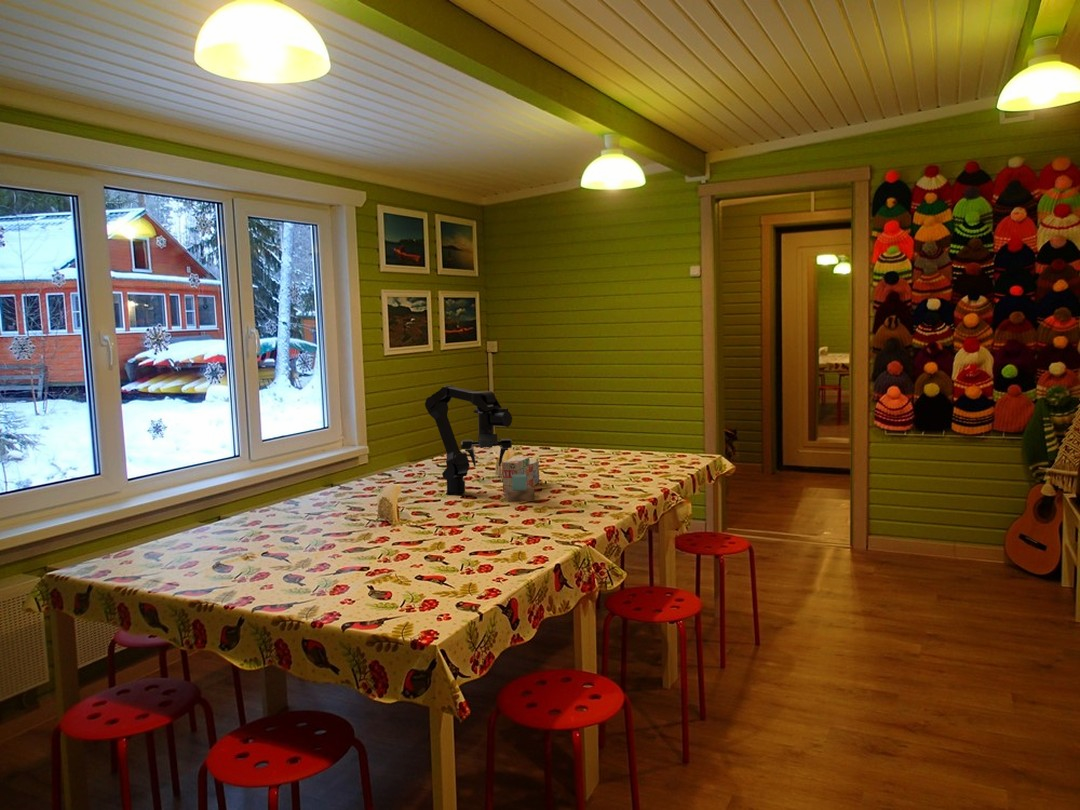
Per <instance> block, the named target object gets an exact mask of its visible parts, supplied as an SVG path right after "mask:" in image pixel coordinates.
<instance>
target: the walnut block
mask: <svg viewBox="0 0 1080 810" xmlns="http://www.w3.org/2000/svg"><path fill="white" fill-rule="evenodd" d="M526 487H527V488H526V490H520V491H513V486H510V487H505V493H504V497H505V499H506V501H507V503H514V502H530V501H531V502H532V501H534V502H535V500H536V498H535V497H536V496H535V495H536V494H535V489H534V488H533V486H531V485H529V486H526Z"/></svg>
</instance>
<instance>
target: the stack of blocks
mask: <svg viewBox="0 0 1080 810" xmlns="http://www.w3.org/2000/svg"><path fill="white" fill-rule="evenodd" d="M501 464H502V465H501V467H502V474H501V475H502V493H504V494H505V487H510V486H513V485H512V477H513V475H525V474H526V486H529V485H531V486H532V487H533V486H535V485H537V484H539V483H540V467H539V465H540V464H539V460H535V459H534V460H533V459H532V460H531V459H530V456H514V457H511V458H509V459H506V460H504V461H501Z"/></svg>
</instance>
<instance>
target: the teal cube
mask: <svg viewBox="0 0 1080 810" xmlns="http://www.w3.org/2000/svg"><path fill="white" fill-rule="evenodd" d="M512 485H513V491H520V490H526V488H527V487H526V474H525V475H513V477H512Z"/></svg>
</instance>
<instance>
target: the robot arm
mask: <svg viewBox="0 0 1080 810" xmlns="http://www.w3.org/2000/svg"><path fill="white" fill-rule="evenodd" d="M452 398H453V399H457V400H461V401H466V402H469V403H471V404H472V405H473V406H474V407H476V408H475V410H473V411H472V412H473V413H474V414H477V417H478V418H477V419H478V420H477V421H478V422H477V423H478V424H477V425H478V435H477V439H478V441H473V439H463V440H461V442H460V445H461V446H460V447H461V450H464V451H465V452H462V451H461V450H460V449H459V448H460V447H459V445H458V442H457V440H456V438H455V435H454V432H453V429H452V425H451V423H450V419H449V416H448V414H449V413H448V411H449V403H450V402H451V400H452ZM424 407H425V408H426V410H427V413H428V414H429V416H430V417H431V418H433V419H434V422H435V424H436V426H437V429H438V433H439V436H440V438H441V440H442V443H443V446H444V449H445V452H446V459H445V462H446V463H445V464H446V468H445V469H444V470H443V471H442V472H441V475H442V476H441V477H442V479H443V480H446V495H451V496H452V495H453V496H454V495H464V493H465V492H466V480H465V479H464V477H467V476H468V473H469V469H470V462H472V464H473V467H474V468H476V466H477V465H476V457H475V456H476V455H475V449H474V448H475V447H479V448H480V449H483V448H488V449H492V448H493V447H500V450H499V458H498V459H499V460H498V467H501V466H502V465H501V464H502V462H503V458H504V455H505V452H506V451H508V450H509V449H511V448H513V444H512V443H513V441H512V439H511V438H501V439H500V440H499V437H498V434H497V433H495V427H502V428H509V427H511V424H512V423H513V416H512V413H511V412H510V411H509V408H508V407H505V408H502V406H501V404H500V402H499V401H498V399H497V397H496V395H495V393H494V392H493V391H489V390H488V391H487V390H485V391H484V390H483V391H482V390H481V391H477V390H476V391H475V390H471V389H466V388H462V387H457V386H455V385H444V386H443V387H441V388H440V389H439V390H438V391H436V392H435V393H434V392H433V393H432V395H431V396H428V397H427V398H426V399H425V402H424ZM467 453H468V454H469V456H470V459H471V461H470V460H469V457H468V454H467Z"/></svg>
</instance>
